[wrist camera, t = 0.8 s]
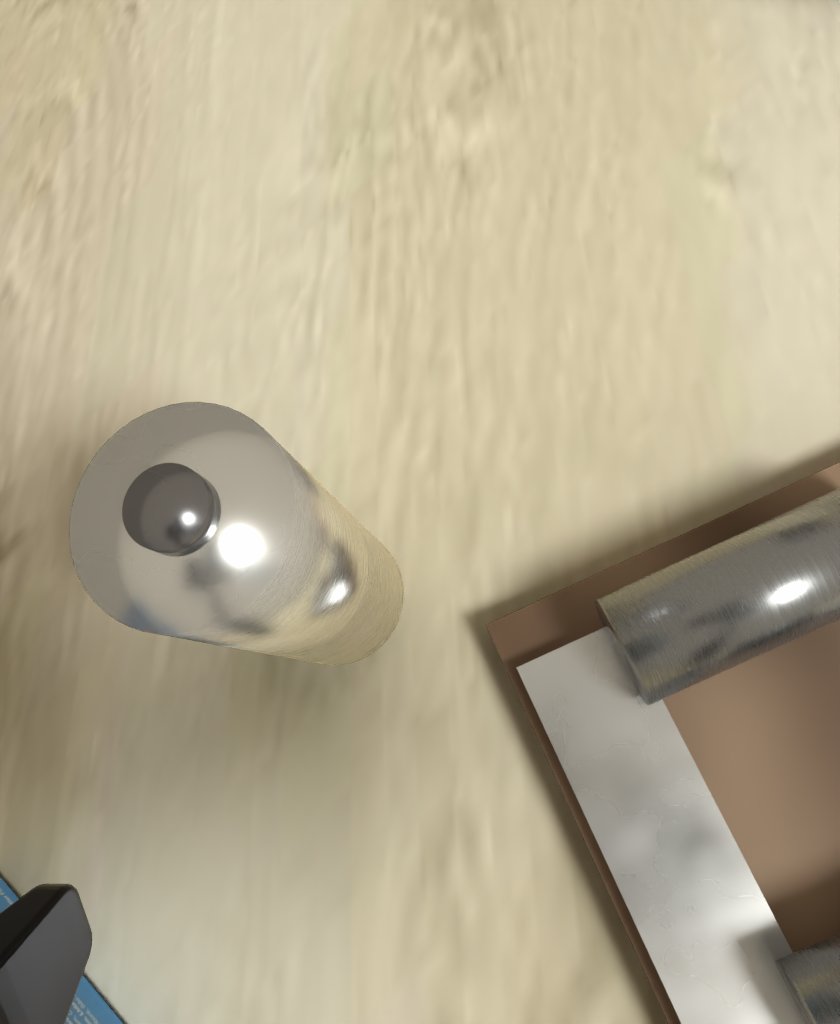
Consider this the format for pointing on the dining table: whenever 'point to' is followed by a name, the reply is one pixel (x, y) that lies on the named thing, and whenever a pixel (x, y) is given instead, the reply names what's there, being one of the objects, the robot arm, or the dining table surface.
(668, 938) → the hinge leaves
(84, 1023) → the ink cartridge box
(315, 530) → the hinge barrel
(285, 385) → the dining table surface
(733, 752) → the board
